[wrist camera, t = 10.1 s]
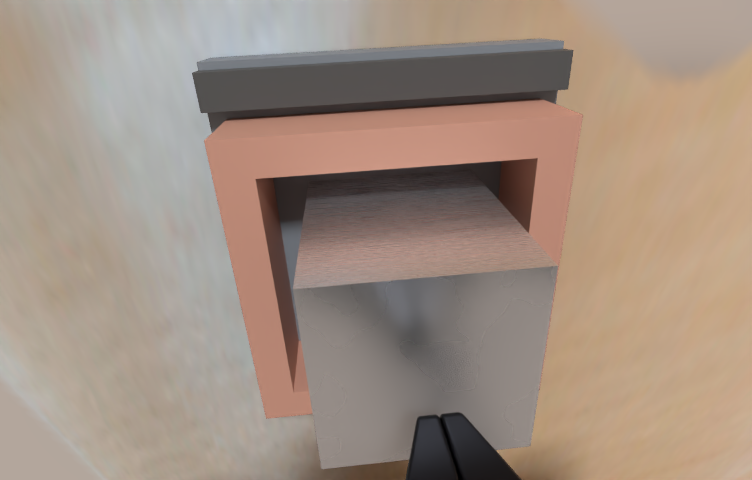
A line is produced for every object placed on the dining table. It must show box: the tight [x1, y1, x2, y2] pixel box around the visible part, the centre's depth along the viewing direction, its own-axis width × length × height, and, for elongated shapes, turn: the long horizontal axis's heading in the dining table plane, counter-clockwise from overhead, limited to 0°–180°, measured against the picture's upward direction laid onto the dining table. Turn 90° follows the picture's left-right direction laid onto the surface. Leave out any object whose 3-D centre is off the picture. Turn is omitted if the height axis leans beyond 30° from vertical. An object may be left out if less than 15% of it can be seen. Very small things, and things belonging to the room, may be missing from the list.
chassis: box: [192, 39, 583, 419], centre depth 14 cm, size 12×10×4 cm
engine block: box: [293, 169, 558, 469], centre depth 12 cm, size 5×5×6 cm
